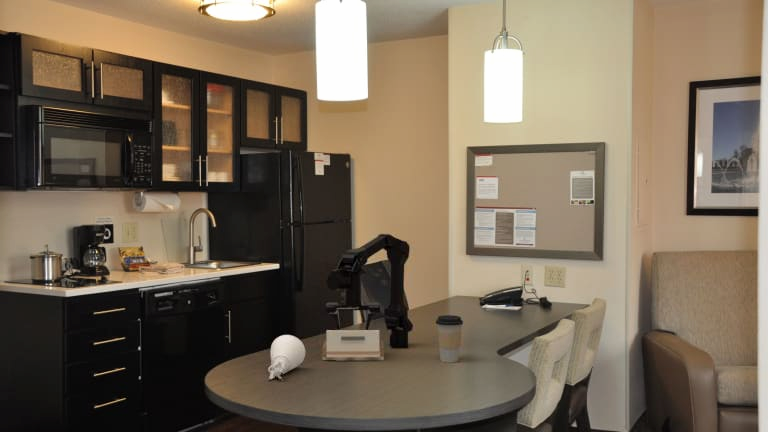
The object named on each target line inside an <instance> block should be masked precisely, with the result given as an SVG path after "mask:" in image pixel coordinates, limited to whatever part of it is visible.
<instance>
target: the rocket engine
mask: <svg viewBox="0 0 768 432" xmlns="http://www.w3.org/2000/svg"><path fill="white" fill-rule="evenodd" d="M305 357H306V348H305V346H304V344H303V342H302V341H301V340H300V339H299V338H298V337H296V336H294V335H291V334H283V335H280V336H278V337H276V338H275V339H274V340H273V342H272V343H271V346H270V361H271V362H270V366H269V367H268V368H267V372H268V373H269V377H268V380H269V379H273V378H275V376H276V377H278V378H279V379H278V380H280V379H281V378H283V377H281V375H284V374H286V373H288V372H289V371H291V370H294V369H295V368H297V367H299V366H300V365H301V363H302V362H303V361H304V360H305ZM281 373H283V374H281Z"/></svg>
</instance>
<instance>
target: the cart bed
mask: <svg viewBox="0 0 768 432" xmlns="http://www.w3.org/2000/svg"><path fill="white" fill-rule="evenodd" d="M321 350H322V351H321V352H322V353H321V355H322V356H321V357H322V358H321V359H323V360H336V361H385V358H384V357H385V355H384V354H385V353H384V351H385V350H384V341H383V340H379V357H327V354H326V351H327V340H324V341H323V346H322V348H321Z"/></svg>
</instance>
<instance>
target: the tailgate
mask: <svg viewBox="0 0 768 432" xmlns="http://www.w3.org/2000/svg"><path fill="white" fill-rule="evenodd" d="M326 341H327V351H326V354H327V357H379V349H380V329H374V330H373V329H368V330H366V329H362V330H361V329H355V330H354V329H353V330H352V329H347V330H346V329H345V330H344V329H340V330H338V329H335V330H332V329H330V330H329V329H327V330H326Z"/></svg>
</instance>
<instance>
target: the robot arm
mask: <svg viewBox="0 0 768 432" xmlns="http://www.w3.org/2000/svg"><path fill="white" fill-rule="evenodd" d="M410 249H411V248H410V244H409V243H408V242H407V241H406V240H402V239H399V238H397V237H395V236H393V235H392V234H389V233H380V234H378V235H377V236H376V237H375V238H373V239H371V240H369V241H368V242H367V243H365V244H364V245H361V246H360V247H357V248H351V249H349V250H346V251H344V252H343V254H342V256H341V259H340V260H339V262H338V264H337V267H336V269H331V270H330V271H331V272H330V274H329V275H328V276H327V279H326V285H327V287H328V289H330V290H331V291H340V290H344V292H341V294H340V298H341V300H340V301H341V303H344V304H339V303H338V302H327V303H326V305H325V314H326V313H327V314H328V315H329V316H332V318H333V319H334V320H333V321H334V322H335V325H336V329H337V330H341V324H340V323H341V322H340V321H341V320H340V316H339V314H340V313H339V311H367V316H366V322H365V324H366V325H365V330H369V328H370V324H371V322H372V320H373V317H374V316H377V314H380V313H381V304H380V303H379V302H368V304H362V301H363V299H362V275H363V274H366V270H364V269H363V267H364V266H365V265H366V264H367V263H368V261H369V258H371V257H372V256H374V255H375V254H377V253H379V252H380V251H381V250H384V251H386V259H387V260H388V261H389V264H390V285H389V286H390V290H389V293H390V295H389V304H388V306H387V307H385V308H384V309H383V314H384V315H383V319H384V323H385V326H386V330H390V333H389V334H388V335H389V339H388V341H389V342H388V343H389V346H390V348H391V349H408V348H409V333H410V332H412V331H413V327H414V324H413V323H412V321H411V320H410V319H409V317H408V309H407V308H406V305H405V303H404V296H405V295H404V292H405V291H404V286H405V284H404V283H405V265H406V263H407V261H408V259H409V257H410Z"/></svg>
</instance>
